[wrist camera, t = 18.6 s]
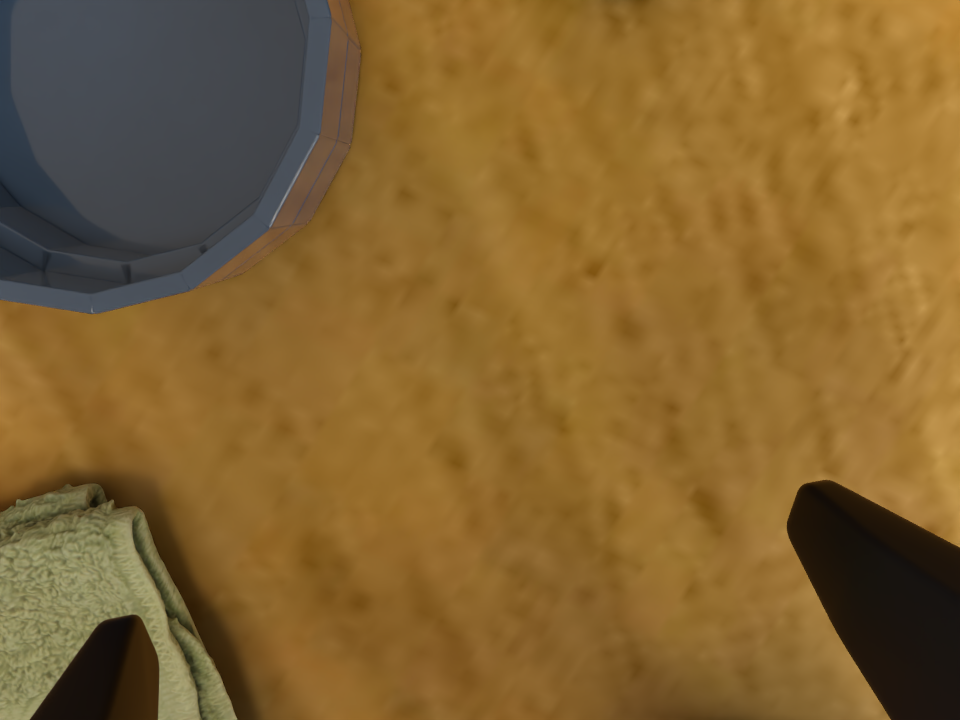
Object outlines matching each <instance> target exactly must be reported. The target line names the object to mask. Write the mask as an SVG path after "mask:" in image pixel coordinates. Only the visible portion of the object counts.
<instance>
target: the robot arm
mask: <svg viewBox="0 0 960 720" xmlns="http://www.w3.org/2000/svg"><path fill="white" fill-rule="evenodd" d="M787 532H788V536H789V539H790V541H791V543H792V545H793V547H794V549H795V551H796V553H797V555H798V557H799V559H800V561H801V563H802V565H803V567H804V569H805V571H806V573H807V575H808V577H809V579H810V581H811V583H812V585H813V587H814V589H815V591H816V593H817V595H818V597H819V599H820V601H821V603H822V605H823V607H824V609H825V611H826V613H827V615H828V617H829V619H830V621H831V623H832V624H833V626H834V628H835V630H836V632H837V634H838V635H839V637H840V639H841V640H842V642H843V644H844V645H845V647H846V649H847V650H848V652H849V654H850V655H851V657H852V658H853V660H854V662H855V663H856V665H857V666H858V668H859V669H860V671H861V673H862V674H863V676H864V677H865V679H866V681H867V682H868V684H869V685H870V687H871V689H872V690H873V692H874V693H875V695H876V696H877V698H878V700H879V701H880V703H881V704H882V706H883V708H884V709H885V711H886V712H887V714H888V716H889V717H890V719H891V720H960V548H959V547H958V546H956V545H954V544H952V543H950V542H948V541H946V540H944V539H942V538H940V537H938V536H937V535H935V534H933V533H931V532H929V531H927V530H925V529H923V528H921V527H919V526H918V525H916V524H914V523H912V522H910V521H908V520H906V519H904V518H902V517H900V516H899V515H897V514H895V513H893V512H891V511H889V510H887V509H885V508H883V507H881V506H880V505H878V504H876V503H874V502H872V501H870V500H868V499H866V498H864V497H862V496H860V495H859V494H857V493H855V492H853V491H851V490H849V489H847V488H845V487H843V486H841V485H840V484H838V483H836V482H833V481H830V480H821V481H816V482H811V483H806V484H804V485H802V486H801V487H800V488H799V490H798V492H797V495H796V498H795V501H794V504H793V506H792V509H791V512H790V515H789V518H788V521H787ZM158 705H159V660H158V655H157V652H156V650H155V647H154V645H153V643H152V641H151V638H150V636H149V634H148V632H147V629H146V627H145V625H144V623H143V621H142V619H141V618H140V617H139V616H138V615H136V614H134V615H133V614H132V615H127V616H121V617H116V618H111V619H107V620H104V621H102V622H101V623H100V624H99V625H98V626H97V627H96V628H95V629H94V631H93V632H92V633H91V635H90V636H89V638H88V639H87V640H86V642H85V643H84V645H83V646H82V647H81V649H80V650H79V652H78V653H77V654H76V656H75V657H74V659H73V660H72V661H71V663H70V664H69V665H68V667H67V668H66V670H65V671H64V672H63V674H62V675H61V677H60V678H59V679H58V681H57V682H56V684H55V685H54V686H53V688H52V689H51V691H50V692H49V693H48V695H47V696H46V697H45V699H44V700H43V702H42V703H41V704H40V706H39V707H38V709H37V710H36V711H35V713H34V714H33V716H32V717H31V718H30V720H158Z"/></svg>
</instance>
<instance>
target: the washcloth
mask: <svg viewBox="0 0 960 720" xmlns="http://www.w3.org/2000/svg"><path fill="white" fill-rule="evenodd" d="M132 614H133V615H134V614H136V615H138V616H139V617H140V618H141V619H142V621H143V623H144V625H145V627H146V629H147V632H148V634H149V636H150V638H151V641H152V643H153V645H154V647H155V650H156V652H157V655H158V660H159V705H158V720H237V718H236V715H235V712H234V710H233V707H232V703H231V700H230V698H229V696H228V694H227V693H226V689H225V686H224V684H223V681H222V678H221V676H220V674H219V672H218V670H217V669H216V665H215V663H214V661H213V659H212V658H211V657H210V656H209V655H208V653H207V652H206V649H205V647H204V645H203V642H202V640H201V638H200V636H199V634H198V631H197V629H196V627H195V625H194V622H193V620H192V618H191V616H190V613H189V611H188V609H187V607H186V605H185V603H184V600H183V598H182V597H181V595H180V593H179V591H178V589H177V587H176V586H175V584H174V583H173V581H172V579H171V576H170V574H169V573H168V571H167V570H166V567H165V564H164V562H163V561H162V560H161V558H160V556H159V554H158V551H157V549H156V547H155V545H154V542H153V538H152V535H151V532H150V530H149V526H148V522H147V520H146V518H145V514H144V512H143V511H142V510H141V509H139V508H138V507H136V506H129V507H123V508H117V507H116V506H115V504H114V500H111V501H109V502H107V499H106V497H105V494H104V491H103V489H102V487H101V486H100V485H99V484H96V483H91V484H84V485H80V486H77V487H72V486H71V485H70V484H66V485H65V486H64V487H63V488H61V489H60V490H56V491H52V492H47V493H45V494H43V495H40V496H36V497H33V498H30V499H26V500H20V499H17V501H16V506H15V507H14V506H13V505H12V506H11V507H9V508H8V509H7V510H5V511H3V512H0V720H30V718H31V717H32V716H33V714H34V713H35V711H36V710H37V709H38V707H39V706H40V704H41V703H42V702H43V700H44V699H45V697H46V696H47V695H48V693H49V692H50V691H51V689H52V688H53V686H54V685H55V684H56V682H57V681H58V679H59V678H60V677H61V675H62V674H63V672H64V671H65V670H66V668H67V667H68V665H69V664H70V663H71V661H72V660H73V659H74V657H75V656H76V654H77V653H78V652H79V650H80V649H81V647H82V646H83V645H84V643H85V642H86V640H87V639H88V638H89V636H90V635H91V633H92V632H93V631H94V629H95V628H96V627H97V626H98V625H99V624H100V623H101V622H102V621H104V620H107V619H111V618H116V617H121V616H127V615H132Z"/></svg>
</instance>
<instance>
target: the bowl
mask: <svg viewBox="0 0 960 720" xmlns="http://www.w3.org/2000/svg"><path fill="white" fill-rule="evenodd" d="M360 50H361V46H360V42H359V39H358V35H357V31H356V27H355V23H354V19H353V15H352V12H351V8H350V4H349V0H0V300H4V301H11V302H17V303H24V304H30V305H37V306H43V307H49V308H56V309H62V310H69V311H75V312H82V313H88V314H99V313H103V312H107V311H111V310H115V309H120V308H124V307H128V306H132V305H136V304H140V303H144V302H148V301H152V300H156V299H160V298H164V297H168V296H173V295H177V294H181V293H185V292H189V291H192V290H195V289H198V288H201V287H204V286H207V285H210V284H213V283H216V282H220V281H223V280H226V279H229V278H232V277H235V276H238V275H241V274H243V273H244V272H246V271H247V270H249V269H250V268H251V267H253V266H254V265H255V264H257V263H258V262H259V261H260V260H262V259H263V258H264V257H266V256H267V255H268V254H269V253H271V252H272V251H273V250H275V249H276V248H277V247H278V246H280V245H281V244H282V243H284V242H285V241H286V240H287V239H289V238H290V237H291V236H293V235H294V234H295V233H297V232H298V231H299V230H300V229H302V228H303V227H304V226H306V225H307V223H308V222H309V221H310V220H311V219H312V217H313V215H314V213H315V211H316V209H317V208H318V206H319V204H320V202H321V200H322V198H323V197H324V195H325V193H326V191H327V189H328V187H329V186H330V184H331V182H332V180H333V178H334V176H335V174H336V173H337V171H338V169H339V167H340V165H341V163H342V162H343V160H344V158H345V156H346V154H347V152H348V151H349V149H350V145H349V144H351V142H352V133H353V124H354V115H355V106H356V96H357V87H358V78H359V69H360V60H361V52H360Z"/></svg>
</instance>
